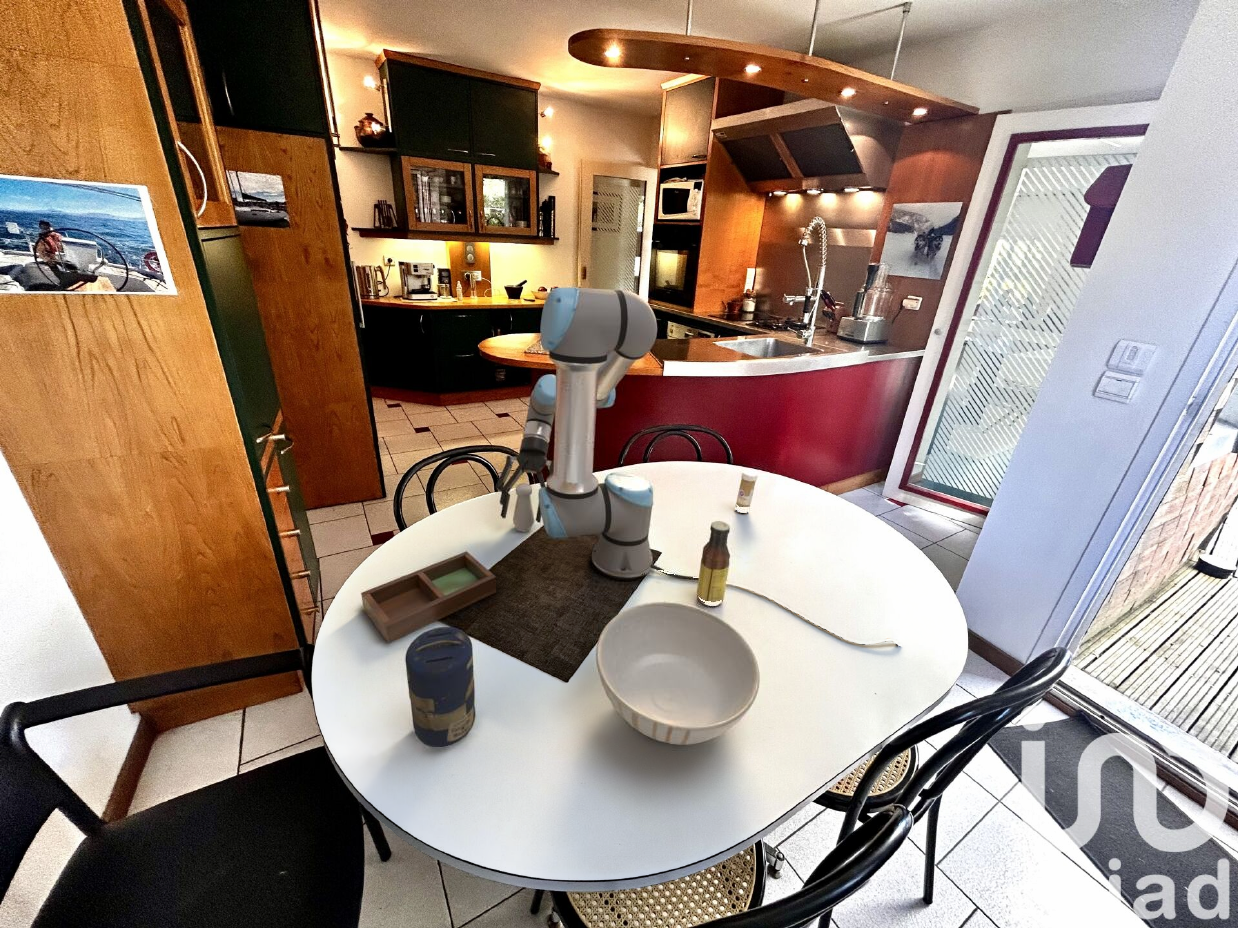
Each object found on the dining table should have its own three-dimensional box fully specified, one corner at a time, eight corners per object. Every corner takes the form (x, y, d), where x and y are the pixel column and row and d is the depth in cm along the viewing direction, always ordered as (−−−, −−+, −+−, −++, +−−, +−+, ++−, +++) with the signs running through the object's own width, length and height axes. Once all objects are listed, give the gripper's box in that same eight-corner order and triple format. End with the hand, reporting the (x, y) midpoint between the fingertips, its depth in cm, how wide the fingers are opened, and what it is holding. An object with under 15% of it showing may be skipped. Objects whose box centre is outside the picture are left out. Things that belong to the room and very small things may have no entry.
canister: (423, 699, 83) (414, 617, 76) (481, 699, 84) (477, 617, 77) (406, 753, 74) (393, 666, 67) (470, 752, 75) (464, 666, 68)
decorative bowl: (630, 811, 70) (639, 755, 65) (571, 669, 92) (574, 619, 87) (778, 750, 80) (796, 697, 75) (693, 635, 102) (702, 589, 97)
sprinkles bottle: (731, 510, 153) (739, 472, 147) (738, 505, 156) (746, 467, 150) (745, 516, 150) (754, 477, 145) (751, 511, 153) (760, 472, 148)
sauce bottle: (725, 596, 115) (741, 523, 106) (718, 612, 109) (734, 536, 101) (698, 586, 117) (712, 515, 109) (690, 602, 112) (704, 527, 104)
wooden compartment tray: (496, 592, 109) (495, 576, 108) (388, 643, 93) (386, 626, 92) (467, 565, 117) (466, 550, 115) (363, 609, 101) (360, 592, 99)
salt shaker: (529, 535, 131) (530, 492, 126) (509, 531, 132) (509, 488, 126) (537, 524, 136) (538, 482, 131) (517, 520, 137) (517, 479, 132)
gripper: (574, 450, 140) (562, 527, 132) (501, 442, 141) (484, 517, 133) (572, 439, 133) (558, 520, 125) (494, 431, 134) (476, 510, 126)
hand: (520, 518), depth 129 cm, fingers open, 9 cm apart
